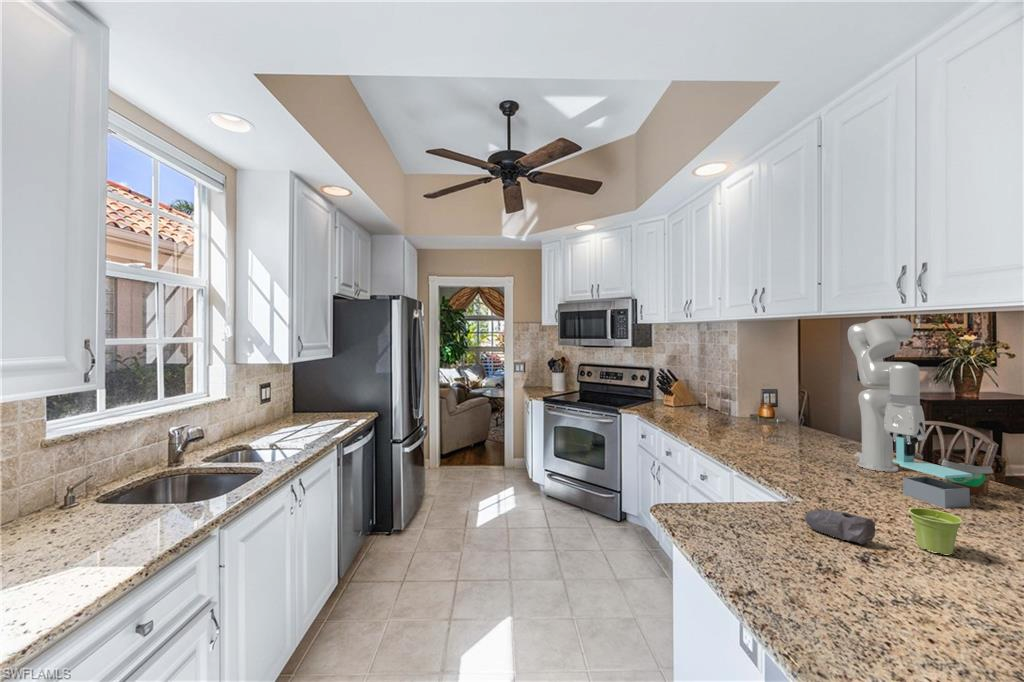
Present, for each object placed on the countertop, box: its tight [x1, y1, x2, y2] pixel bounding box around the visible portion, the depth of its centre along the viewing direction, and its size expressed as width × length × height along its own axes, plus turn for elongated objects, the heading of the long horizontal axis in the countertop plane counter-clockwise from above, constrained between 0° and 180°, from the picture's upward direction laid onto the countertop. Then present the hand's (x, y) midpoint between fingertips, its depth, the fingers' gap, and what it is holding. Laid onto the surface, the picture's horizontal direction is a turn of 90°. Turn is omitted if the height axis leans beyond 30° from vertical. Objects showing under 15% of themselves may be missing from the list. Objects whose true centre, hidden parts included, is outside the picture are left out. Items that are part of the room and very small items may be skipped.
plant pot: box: [908, 507, 963, 555], centre depth 105 cm, size 9×9×9 cm
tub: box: [902, 475, 971, 509], centre depth 135 cm, size 12×9×6 cm
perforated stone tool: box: [804, 509, 877, 545], centre depth 112 cm, size 15×5×7 cm, turn 36°
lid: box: [892, 435, 972, 480], centre depth 138 cm, size 17×10×9 cm, turn 9°
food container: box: [941, 457, 994, 497], centre depth 143 cm, size 12×6×10 cm, turn 25°
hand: (905, 453), depth 144 cm, fingers closed on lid
